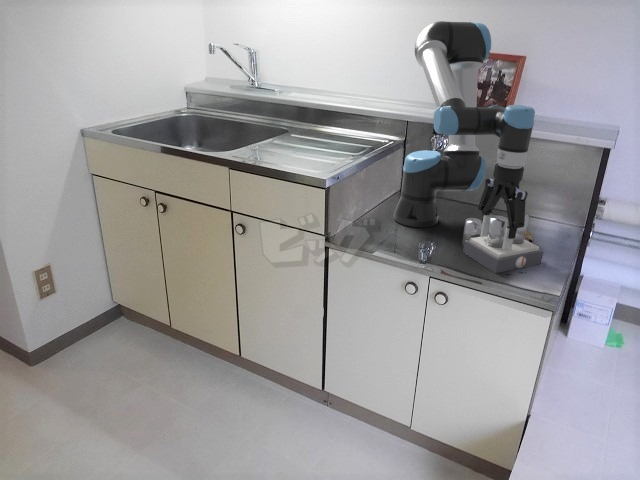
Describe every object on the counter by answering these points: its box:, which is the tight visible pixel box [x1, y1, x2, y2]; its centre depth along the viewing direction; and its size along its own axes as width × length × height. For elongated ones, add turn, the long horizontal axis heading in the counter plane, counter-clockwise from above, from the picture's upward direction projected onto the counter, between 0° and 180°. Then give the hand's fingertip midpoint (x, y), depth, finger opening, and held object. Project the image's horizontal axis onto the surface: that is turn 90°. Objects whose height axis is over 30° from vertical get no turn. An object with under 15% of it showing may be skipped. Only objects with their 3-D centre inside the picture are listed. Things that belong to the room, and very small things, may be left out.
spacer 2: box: [486, 214, 509, 248], centre depth 146 cm, size 5×5×8 cm
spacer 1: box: [461, 217, 482, 247], centre depth 158 cm, size 5×5×8 cm
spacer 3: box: [513, 213, 530, 244], centre depth 149 cm, size 5×5×8 cm
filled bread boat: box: [508, 224, 534, 244], centre depth 164 cm, size 5×14×4 cm, turn 3°
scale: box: [462, 236, 545, 274], centre depth 150 cm, size 15×17×5 cm
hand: (495, 241), depth 148 cm, fingers open, 8 cm apart
